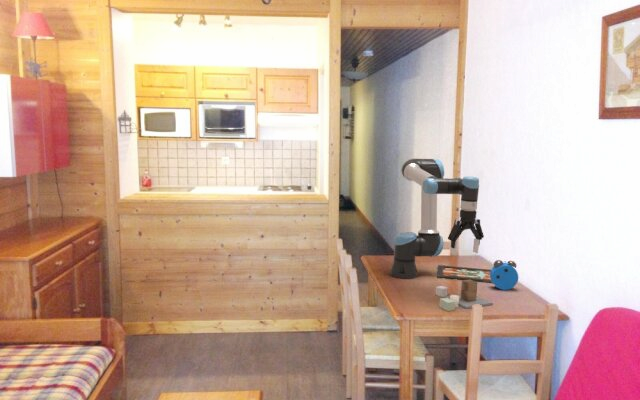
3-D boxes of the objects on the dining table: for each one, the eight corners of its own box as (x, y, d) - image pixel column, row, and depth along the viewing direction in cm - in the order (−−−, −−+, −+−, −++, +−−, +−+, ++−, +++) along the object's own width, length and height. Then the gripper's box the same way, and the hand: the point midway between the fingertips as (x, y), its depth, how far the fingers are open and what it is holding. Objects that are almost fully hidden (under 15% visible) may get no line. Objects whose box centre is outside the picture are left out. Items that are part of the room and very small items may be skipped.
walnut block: (460, 298, 254) (461, 280, 253) (468, 297, 257) (469, 279, 255) (467, 302, 250) (469, 283, 249) (476, 300, 252) (477, 282, 251)
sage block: (439, 307, 245) (439, 298, 244) (446, 306, 246) (446, 297, 246) (447, 311, 239) (447, 302, 239) (454, 310, 241) (455, 301, 240)
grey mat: (443, 298, 257) (443, 296, 257) (468, 295, 264) (468, 293, 264) (466, 309, 243) (466, 306, 243) (492, 304, 250) (492, 302, 250)
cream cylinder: (447, 305, 247) (448, 295, 246) (454, 304, 249) (455, 294, 248) (453, 308, 243) (454, 297, 243) (460, 307, 245) (461, 296, 245)
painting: (436, 268, 320) (436, 264, 320) (497, 273, 313) (497, 269, 313) (436, 279, 293) (437, 275, 293) (503, 285, 286) (504, 280, 286)
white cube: (435, 294, 263) (436, 287, 262) (440, 293, 266) (440, 285, 265) (442, 297, 260) (442, 289, 260) (447, 295, 263) (447, 287, 262)
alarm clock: (514, 287, 280) (516, 259, 278) (517, 291, 274) (520, 262, 272) (488, 286, 281) (490, 258, 279) (491, 289, 275) (493, 261, 273)
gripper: (453, 212, 243) (449, 257, 247) (493, 209, 255) (489, 253, 258) (442, 209, 250) (438, 253, 253) (482, 207, 261) (478, 249, 265)
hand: (464, 253), depth 256 cm, fingers open, 13 cm apart
